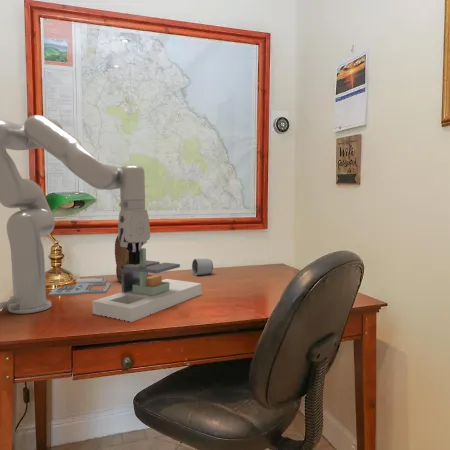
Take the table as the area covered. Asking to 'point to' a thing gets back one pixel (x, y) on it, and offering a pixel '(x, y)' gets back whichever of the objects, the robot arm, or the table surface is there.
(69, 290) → the blue-grey slotted plate
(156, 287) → the green peg stand
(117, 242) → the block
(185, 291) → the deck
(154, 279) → the orange block
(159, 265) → the grey overhanging bracket
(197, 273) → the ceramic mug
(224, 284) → the table surface
